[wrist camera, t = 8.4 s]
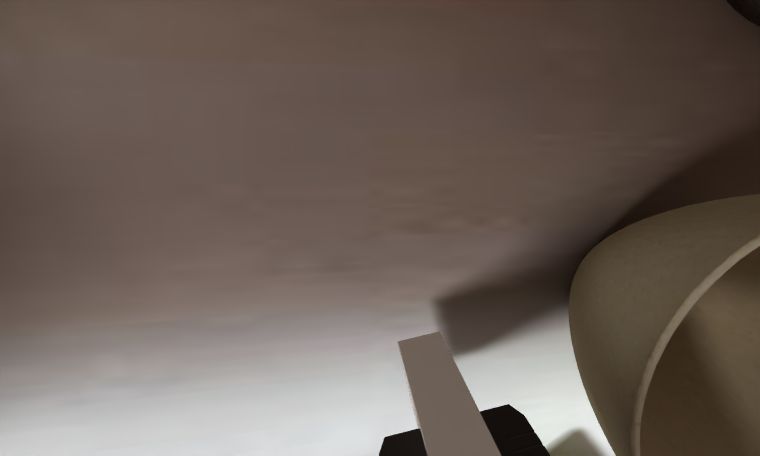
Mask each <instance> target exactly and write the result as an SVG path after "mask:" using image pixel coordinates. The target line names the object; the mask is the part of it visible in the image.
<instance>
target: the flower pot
mask: <svg viewBox="0 0 760 456" xmlns="http://www.w3.org/2000/svg"><path fill="white" fill-rule="evenodd" d="M569 324H570V333H571V340H572V345H573V349H574V354H575V358H576V362H577V366H578V370H579V373H580V376H581V379H582V382H583V385H584V388H585V391H586V393H587V396H588V399H589V401H590V404H591V406H592V408H593V411H594V413H595V415H596V418H597V420H598V422H599V424H600V426H601V428H602V430H603V432H604V434H605V436H606V438H607V440H608V442H609V444H610V446H611V447H612V449H613V451H614V453H615V455H616V456H760V194H753V195H745V196H737V197H730V198H724V199H718V200H713V201H707V202H703V203H698V204H693V205H688V206H685V207H681V208H677V209H674V210H670V211H667V212H663V213H660V214H657V215H654V216H651V217H648V218H645V219H643V220H640V221H638V222H636V223H633V224H631V225H629V226H627V227H625V228H623V229H621V230H619V231H617V232H615V233H613V234H612V235H610V236H608V237H607V238H605V239H604V240H602V241H601V242H600V243H599V244H597V245H596V246H595V247H594V248H593V249H592V250H591V251H590V252H589V253H588V254H587V255H586V256H585V258H584V259H583V261H582V262H581V263H580V265H579V267H578V269H577V271H576V273H575V275H574V278H573V281H572V285H571V290H570V297H569Z"/></svg>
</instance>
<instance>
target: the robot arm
mask: <svg viewBox="0 0 760 456" xmlns="http://www.w3.org/2000/svg"><path fill="white" fill-rule="evenodd" d="M398 346H399V350H400V354H401V359H402V363H403V368H404V372H405V376H406V381H407V385H408V389H409V394H410V398H411V403H412V407H413V411H414V415H415V419H416V423H417V426H418V429H415V430H411V431H407V432H403V433H399V434H395V435H391V436H388V437H385V438H384V441H383V444H382V447H381V450H380V453H379V456H550V454H549V453H548V451H547V450H546V448H545V447H544V446H543V445H542V442H541V441H540V439H539V437H538V436H537V434H536V433H535V432H534V430H533V428H532V427H531V425H530V424H529V422H528V420H527V419H526V417H525V416H524V415H523V414H522V413H520V412H519V411H517V410H516V409H515V408H513V407H512V406H510V405H509V404H508V405H504V406H500V407H496V408H492V409H488V410H484V411H480V412H479V410H478V408H477V406H476V404H475V402H474V400H473V398H472V396H471V394H470V392H469V390H468V387H467V385H466V383H465V381H464V379H463V377H462V375H461V373H460V371H459V369H458V367H457V365H456V363H455V361H454V359H453V357H452V355H451V353H450V351H449V349H448V347H447V345H446V343H445V341H444V339H443V337H442V335H441V333H440V331H439V332H435V333H431V334H427V335H423V336H419V337H415V338H411V339H407V340H403V341H399V342H398Z"/></svg>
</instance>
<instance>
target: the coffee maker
mask: <svg viewBox="0 0 760 456" xmlns="http://www.w3.org/2000/svg"><path fill="white" fill-rule="evenodd" d="M727 1H728V2H729V3H730V4H731V6H732V7H733V8H734V9H735V10H736V11H738V12H739V13H740V14H741V15H742V16H744V17H745V18H746V19H748V20H749V21H751V22H753V23H755V24H757V25H758V26H760V0H727Z"/></svg>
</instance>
